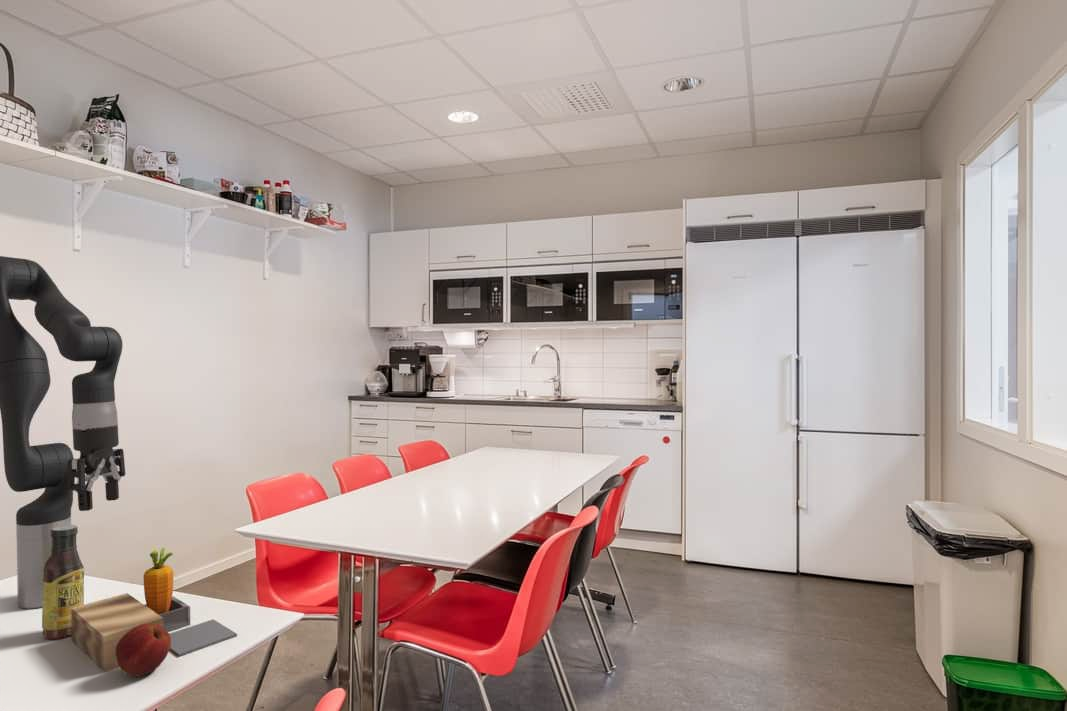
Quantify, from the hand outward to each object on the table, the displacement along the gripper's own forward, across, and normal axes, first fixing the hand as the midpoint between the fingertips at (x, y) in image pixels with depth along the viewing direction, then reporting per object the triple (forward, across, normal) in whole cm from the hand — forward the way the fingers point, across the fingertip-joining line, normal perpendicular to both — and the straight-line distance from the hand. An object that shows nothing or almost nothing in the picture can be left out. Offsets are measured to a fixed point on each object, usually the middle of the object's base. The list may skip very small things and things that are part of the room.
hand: (99, 505), depth 127 cm
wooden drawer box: (+23, +12, +13) cm, 29 cm away
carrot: (+23, +7, +14) cm, 28 cm away
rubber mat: (+23, +13, +24) cm, 36 cm away
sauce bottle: (+22, +8, -2) cm, 24 cm away
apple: (+23, +25, +21) cm, 40 cm away
